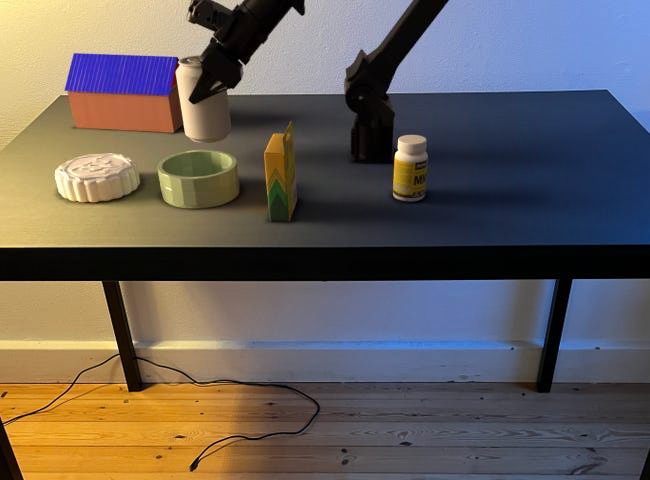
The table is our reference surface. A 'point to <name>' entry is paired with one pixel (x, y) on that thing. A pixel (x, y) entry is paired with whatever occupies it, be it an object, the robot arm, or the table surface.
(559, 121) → the table surface
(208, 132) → the can
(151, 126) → the house
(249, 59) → the robot arm
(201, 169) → the pot
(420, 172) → the supplement bottle
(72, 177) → the mooncake
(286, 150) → the crayon box
